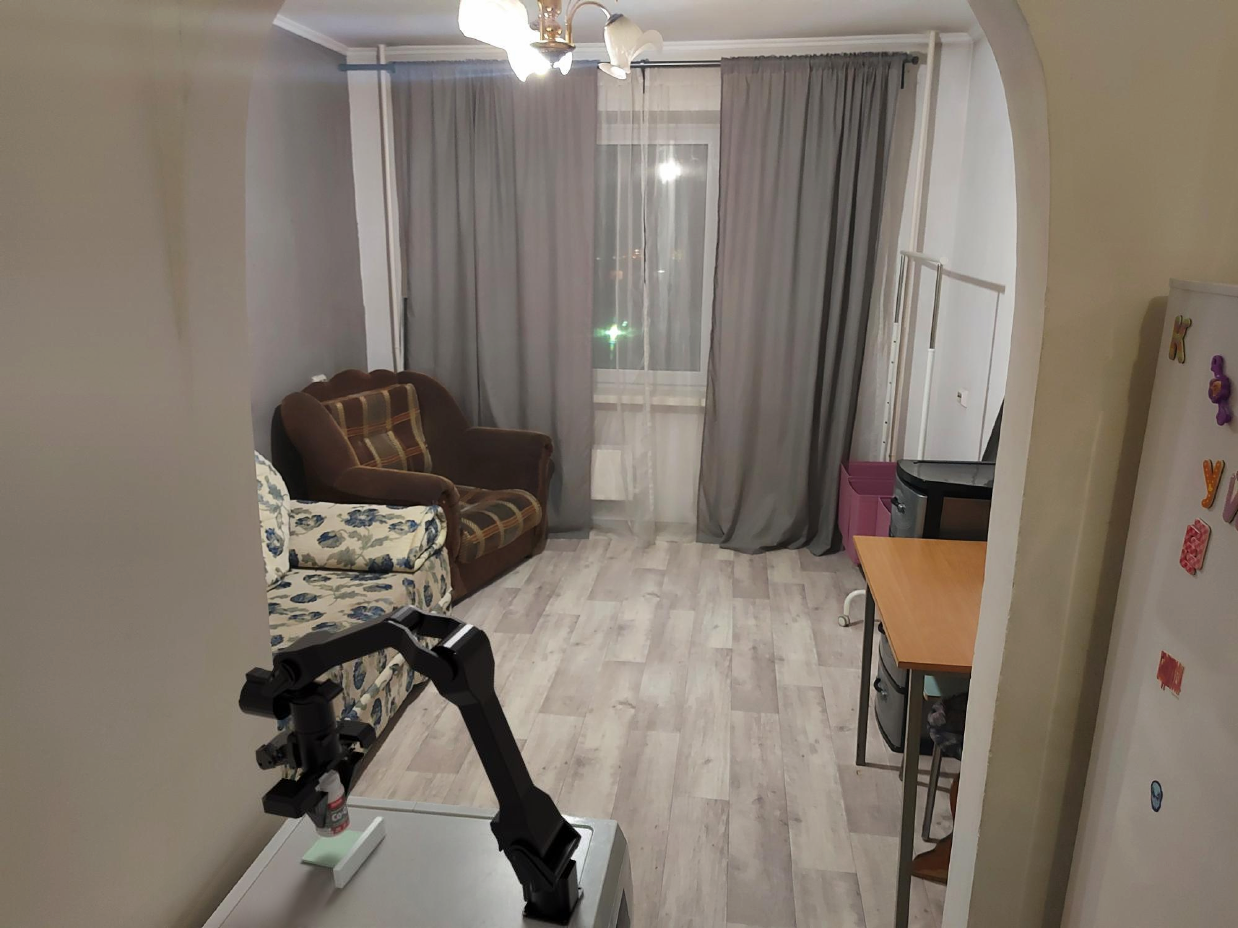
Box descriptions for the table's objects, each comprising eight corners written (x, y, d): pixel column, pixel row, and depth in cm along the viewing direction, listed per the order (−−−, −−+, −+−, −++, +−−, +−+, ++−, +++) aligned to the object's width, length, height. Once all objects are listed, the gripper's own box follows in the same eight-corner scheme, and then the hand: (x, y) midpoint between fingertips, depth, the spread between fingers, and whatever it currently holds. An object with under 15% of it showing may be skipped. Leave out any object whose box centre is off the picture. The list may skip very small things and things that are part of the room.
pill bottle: (340, 840, 122) (330, 790, 119) (310, 836, 123) (300, 787, 120) (356, 817, 126) (347, 769, 124) (327, 814, 127) (318, 766, 125)
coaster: (370, 836, 128) (370, 833, 128) (342, 869, 121) (342, 867, 121) (331, 828, 130) (330, 825, 130) (301, 860, 124) (301, 858, 123)
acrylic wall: (386, 833, 128) (383, 817, 127) (342, 888, 118) (339, 870, 117) (380, 832, 128) (377, 816, 127) (336, 886, 118) (332, 869, 117)
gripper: (308, 680, 130) (324, 768, 135) (219, 753, 113) (241, 850, 118) (371, 689, 127) (385, 778, 131) (289, 766, 110) (308, 865, 114)
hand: (331, 815), depth 124 cm, fingers closed on pill bottle, 5 cm apart
